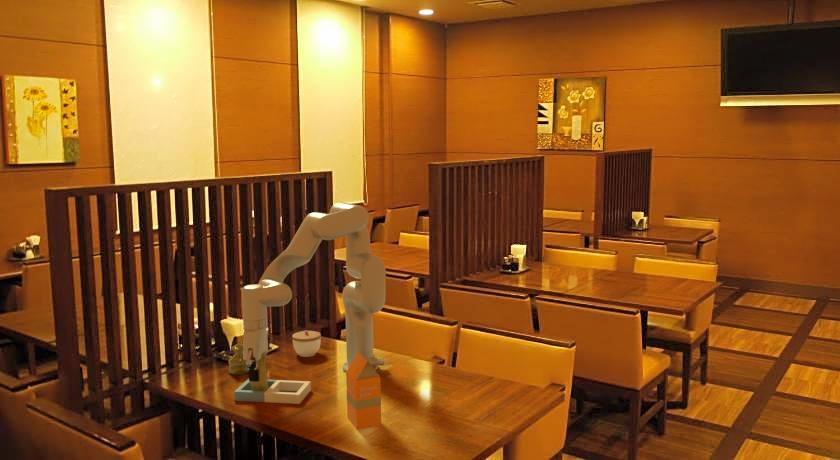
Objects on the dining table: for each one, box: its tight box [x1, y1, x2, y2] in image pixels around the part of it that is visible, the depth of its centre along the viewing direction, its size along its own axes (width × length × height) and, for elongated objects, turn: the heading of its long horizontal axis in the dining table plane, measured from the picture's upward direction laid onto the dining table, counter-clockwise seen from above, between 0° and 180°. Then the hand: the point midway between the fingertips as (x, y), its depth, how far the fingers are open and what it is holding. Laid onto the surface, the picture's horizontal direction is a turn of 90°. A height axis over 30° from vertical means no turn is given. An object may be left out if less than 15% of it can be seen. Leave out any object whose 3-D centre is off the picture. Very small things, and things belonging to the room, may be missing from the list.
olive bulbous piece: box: [228, 343, 249, 376], centre depth 249 cm, size 7×7×10 cm
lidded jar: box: [291, 329, 322, 358], centre depth 267 cm, size 11×11×9 cm
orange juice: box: [345, 352, 382, 430], centre depth 205 cm, size 8×9×20 cm
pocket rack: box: [233, 378, 312, 405], centre depth 227 cm, size 22×12×3 cm, turn 81°
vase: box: [250, 352, 269, 391], centre depth 227 cm, size 6×6×14 cm
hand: (258, 376), depth 227 cm, fingers open, 6 cm apart
